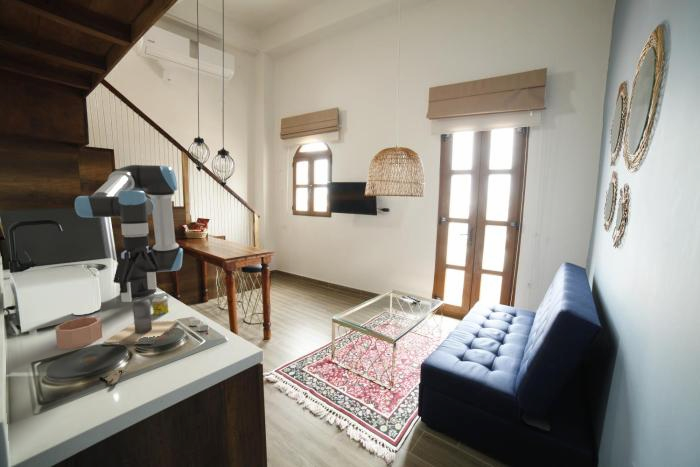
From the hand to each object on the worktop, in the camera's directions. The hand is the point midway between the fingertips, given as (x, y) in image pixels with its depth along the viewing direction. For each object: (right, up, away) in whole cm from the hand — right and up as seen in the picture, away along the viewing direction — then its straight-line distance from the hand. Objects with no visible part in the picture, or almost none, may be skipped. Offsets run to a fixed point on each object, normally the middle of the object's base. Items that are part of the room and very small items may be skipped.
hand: (140, 294), depth 105 cm
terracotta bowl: (-18, -16, -3) cm, 24 cm away
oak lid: (0, -14, +2) cm, 15 cm away
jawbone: (+13, -19, -17) cm, 28 cm away
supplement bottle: (-6, -13, +21) cm, 25 cm away
